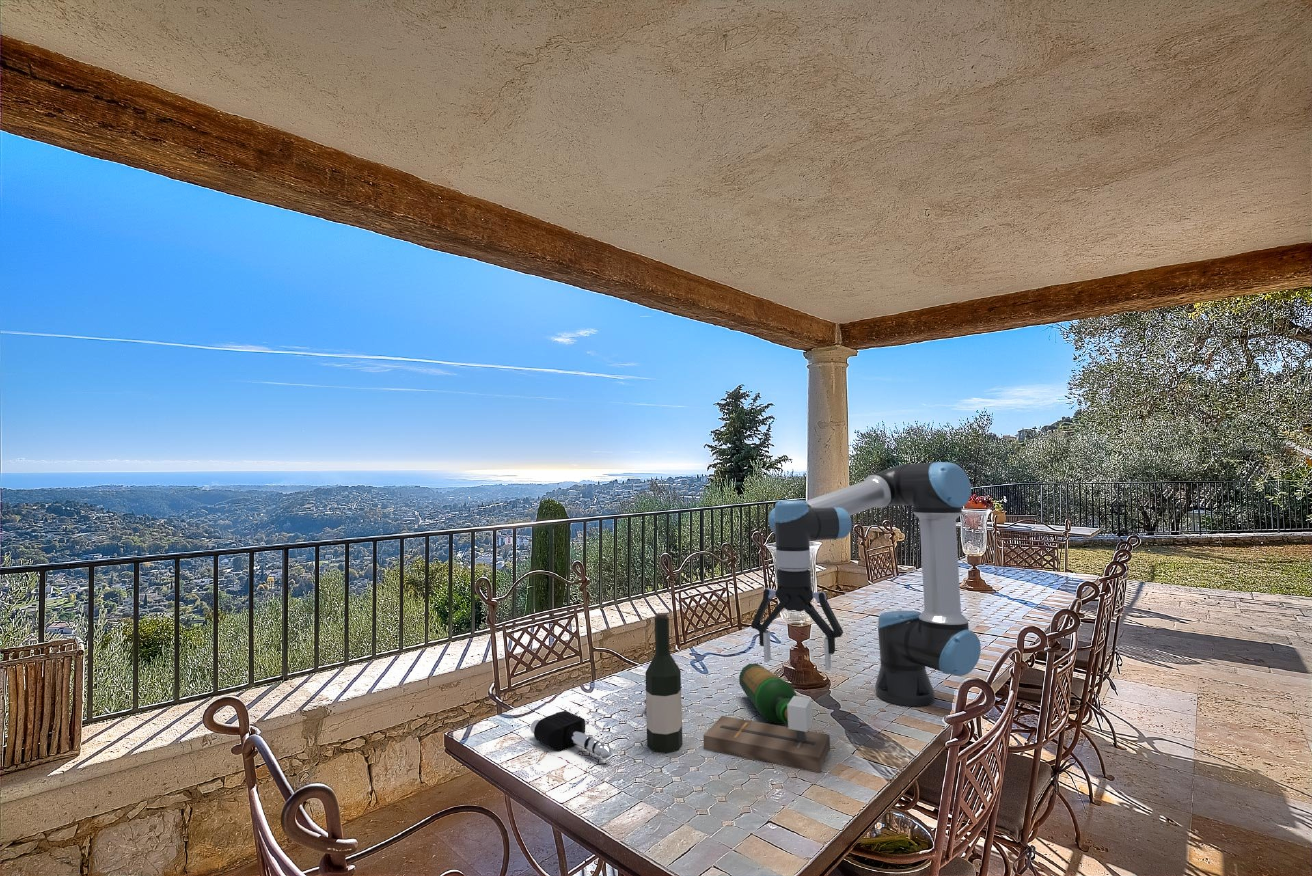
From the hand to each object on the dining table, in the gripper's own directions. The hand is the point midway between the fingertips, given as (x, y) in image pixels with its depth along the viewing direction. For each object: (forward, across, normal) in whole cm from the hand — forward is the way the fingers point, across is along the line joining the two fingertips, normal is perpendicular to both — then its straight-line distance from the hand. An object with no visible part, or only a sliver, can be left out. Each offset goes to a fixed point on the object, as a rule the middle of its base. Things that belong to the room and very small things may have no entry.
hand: (797, 664), depth 127 cm
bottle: (+14, +20, -30) cm, 39 cm away
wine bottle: (+20, +30, +8) cm, 37 cm away
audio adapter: (+20, +48, +18) cm, 55 cm away
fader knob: (+16, 0, 0) cm, 16 cm away
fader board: (+20, +8, 0) cm, 21 cm away
